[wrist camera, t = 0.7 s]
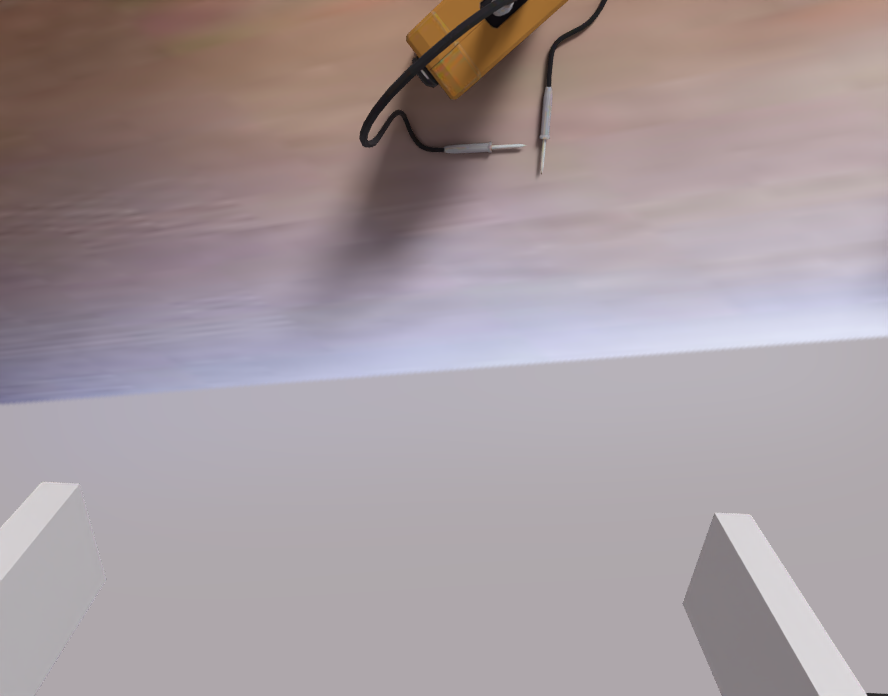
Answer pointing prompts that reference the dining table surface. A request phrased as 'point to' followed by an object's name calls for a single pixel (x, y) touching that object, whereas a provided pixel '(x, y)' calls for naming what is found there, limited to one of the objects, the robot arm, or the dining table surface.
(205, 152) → the dining table surface
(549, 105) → the multimeter
